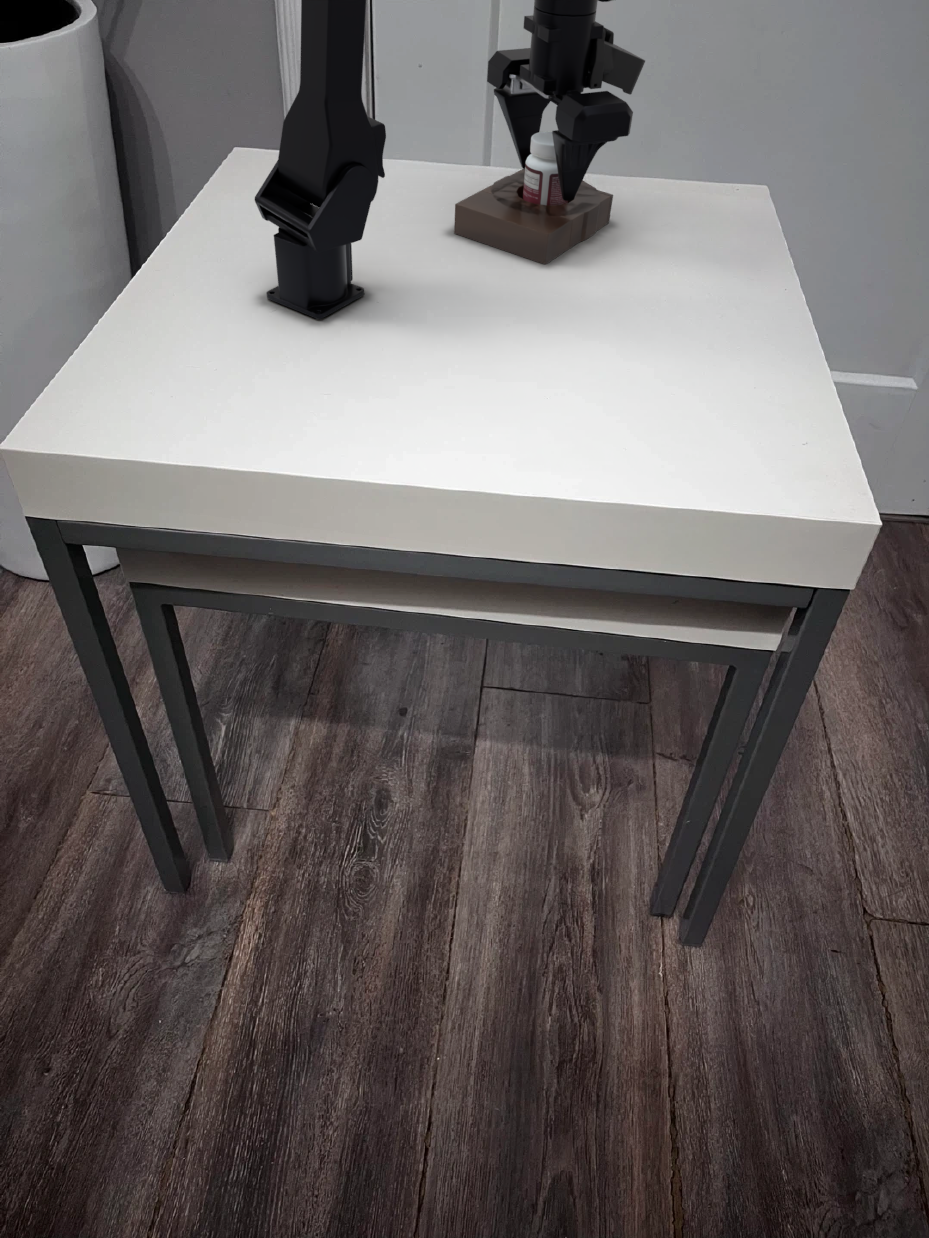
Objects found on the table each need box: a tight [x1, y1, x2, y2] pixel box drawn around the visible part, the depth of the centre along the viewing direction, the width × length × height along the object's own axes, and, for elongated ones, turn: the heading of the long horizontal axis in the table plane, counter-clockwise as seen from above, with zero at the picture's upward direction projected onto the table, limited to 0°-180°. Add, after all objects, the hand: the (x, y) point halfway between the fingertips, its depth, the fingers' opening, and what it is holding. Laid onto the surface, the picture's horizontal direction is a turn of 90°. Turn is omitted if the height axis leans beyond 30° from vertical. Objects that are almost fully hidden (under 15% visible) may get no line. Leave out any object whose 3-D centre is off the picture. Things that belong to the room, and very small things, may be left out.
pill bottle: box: [523, 130, 568, 206], centre depth 99 cm, size 5×5×8 cm
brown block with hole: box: [453, 168, 614, 265], centre depth 100 cm, size 14×11×3 cm
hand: (546, 183), depth 99 cm, fingers open, 8 cm apart
